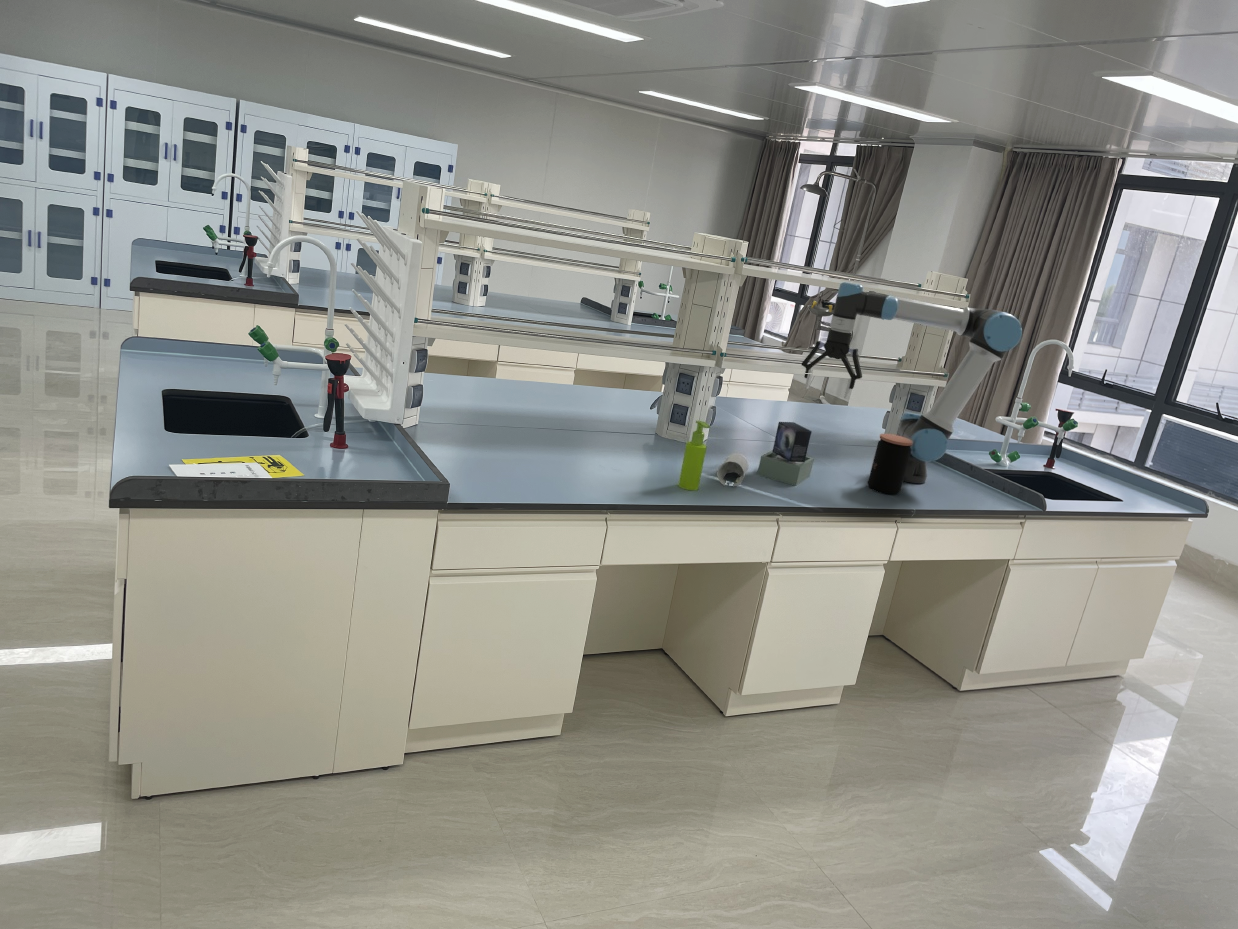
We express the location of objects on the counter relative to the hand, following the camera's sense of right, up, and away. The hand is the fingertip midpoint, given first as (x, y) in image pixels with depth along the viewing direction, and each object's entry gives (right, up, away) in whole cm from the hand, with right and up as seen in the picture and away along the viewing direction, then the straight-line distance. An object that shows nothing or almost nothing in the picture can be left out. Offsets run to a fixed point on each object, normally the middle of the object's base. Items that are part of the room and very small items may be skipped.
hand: (826, 393), depth 294 cm
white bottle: (-35, -29, -22) cm, 51 cm away
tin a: (-14, -27, -7) cm, 31 cm away
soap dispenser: (-49, -31, -38) cm, 69 cm away
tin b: (-18, -28, -13) cm, 36 cm away
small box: (-15, -22, -12) cm, 29 cm away
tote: (-16, -28, -10) cm, 34 cm away
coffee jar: (+18, -33, -4) cm, 37 cm away
